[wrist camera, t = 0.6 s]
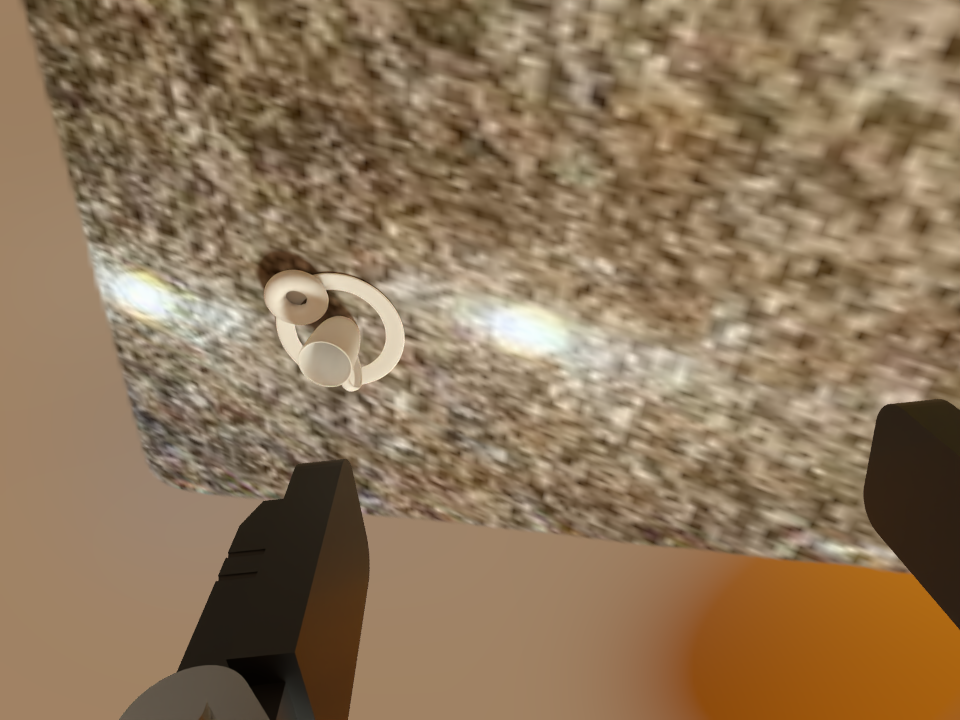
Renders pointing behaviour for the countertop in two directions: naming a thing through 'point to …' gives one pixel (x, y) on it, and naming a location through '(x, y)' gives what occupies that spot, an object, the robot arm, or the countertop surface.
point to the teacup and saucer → (331, 328)
